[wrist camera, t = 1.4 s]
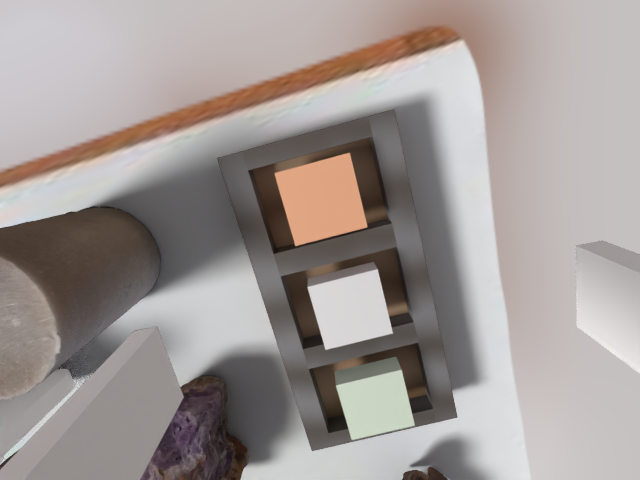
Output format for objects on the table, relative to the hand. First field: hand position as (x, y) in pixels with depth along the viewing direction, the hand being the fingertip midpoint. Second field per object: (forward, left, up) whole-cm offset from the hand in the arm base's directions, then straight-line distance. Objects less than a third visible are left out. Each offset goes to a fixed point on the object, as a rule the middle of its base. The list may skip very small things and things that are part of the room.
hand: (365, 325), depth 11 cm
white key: (-5, -5, -18) cm, 19 cm away
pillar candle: (-16, +14, -22) cm, 30 cm away
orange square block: (+1, +2, -18) cm, 18 cm away
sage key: (-10, -12, -18) cm, 24 cm away
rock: (-26, -2, -22) cm, 34 cm away
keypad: (-5, -5, -22) cm, 23 cm away
